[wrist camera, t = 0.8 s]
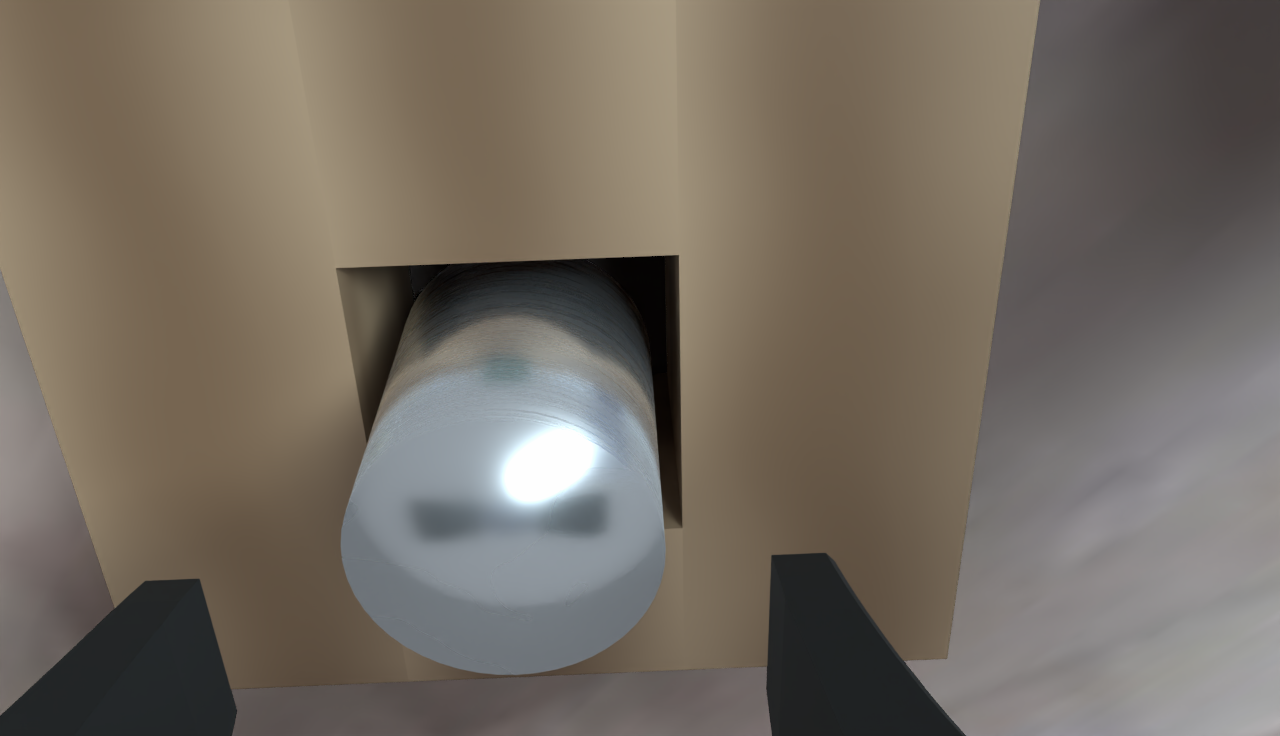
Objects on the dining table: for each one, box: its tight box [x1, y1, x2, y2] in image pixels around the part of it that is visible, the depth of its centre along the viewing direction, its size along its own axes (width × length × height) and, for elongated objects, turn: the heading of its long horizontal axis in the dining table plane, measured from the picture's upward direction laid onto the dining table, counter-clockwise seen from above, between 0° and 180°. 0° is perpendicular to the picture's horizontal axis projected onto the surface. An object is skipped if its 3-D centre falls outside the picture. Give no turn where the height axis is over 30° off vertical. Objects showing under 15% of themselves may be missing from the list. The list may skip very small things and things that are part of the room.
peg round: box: [341, 259, 666, 675], centre depth 16 cm, size 4×4×5 cm
